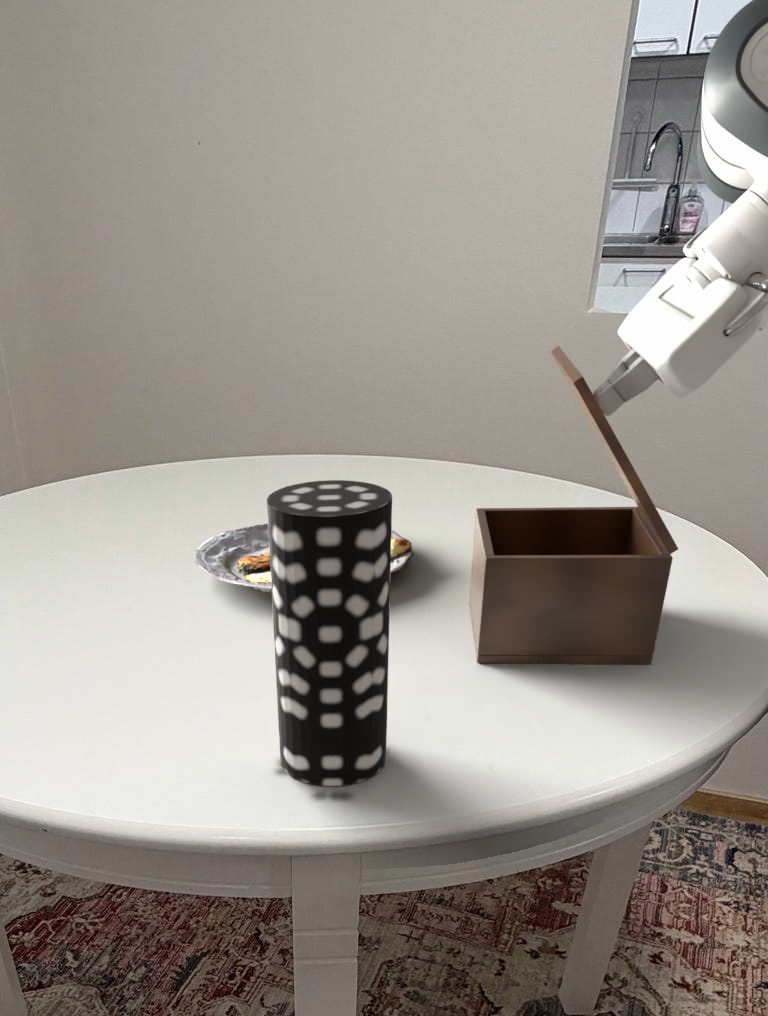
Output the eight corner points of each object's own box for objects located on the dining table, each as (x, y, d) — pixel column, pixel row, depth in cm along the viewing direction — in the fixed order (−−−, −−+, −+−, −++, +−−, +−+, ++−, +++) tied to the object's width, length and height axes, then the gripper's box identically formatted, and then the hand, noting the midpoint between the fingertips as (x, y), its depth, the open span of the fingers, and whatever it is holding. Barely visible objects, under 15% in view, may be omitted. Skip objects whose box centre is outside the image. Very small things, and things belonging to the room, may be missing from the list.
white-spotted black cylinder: (277, 787, 72) (262, 518, 60) (283, 733, 78) (270, 482, 67) (388, 786, 71) (394, 514, 59) (384, 732, 78) (389, 478, 66)
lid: (573, 382, 73) (582, 375, 73) (550, 351, 85) (558, 345, 85) (669, 554, 80) (678, 549, 80) (636, 504, 92) (644, 499, 92)
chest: (476, 663, 88) (485, 558, 82) (468, 603, 100) (476, 508, 94) (651, 664, 86) (673, 557, 80) (622, 603, 98) (639, 506, 92)
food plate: (349, 524, 123) (349, 496, 121) (452, 578, 106) (454, 546, 104) (167, 560, 114) (164, 530, 112) (248, 624, 97) (245, 591, 95)
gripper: (810, 319, 67) (641, 464, 74) (736, 288, 84) (604, 410, 91) (759, 246, 65) (591, 403, 72) (694, 229, 82) (562, 358, 89)
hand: (598, 406), depth 82 cm, fingers closed
